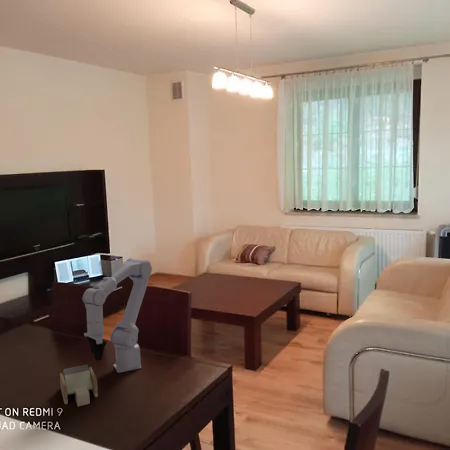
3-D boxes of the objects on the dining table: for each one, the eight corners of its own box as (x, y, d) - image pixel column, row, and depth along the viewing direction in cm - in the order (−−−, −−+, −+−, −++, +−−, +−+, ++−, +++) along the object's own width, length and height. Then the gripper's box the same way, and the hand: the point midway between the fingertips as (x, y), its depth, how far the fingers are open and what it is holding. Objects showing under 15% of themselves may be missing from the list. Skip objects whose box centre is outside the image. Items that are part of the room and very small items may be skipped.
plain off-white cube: (86, 386, 162) (89, 392, 157) (87, 397, 162) (89, 403, 158) (74, 389, 160) (77, 395, 156) (75, 400, 160) (77, 406, 156)
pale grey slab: (87, 367, 171) (87, 363, 169) (92, 392, 165) (92, 388, 163) (63, 372, 168) (63, 367, 166) (67, 398, 162) (67, 393, 159)
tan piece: (92, 383, 172) (91, 367, 171) (98, 396, 162) (96, 379, 161) (60, 390, 167) (59, 373, 166) (64, 404, 157) (63, 386, 157)
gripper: (80, 316, 174) (82, 351, 176) (87, 328, 162) (88, 365, 163) (99, 314, 178) (101, 348, 179) (107, 325, 165) (109, 361, 166)
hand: (96, 356), depth 171 cm, fingers open, 7 cm apart
